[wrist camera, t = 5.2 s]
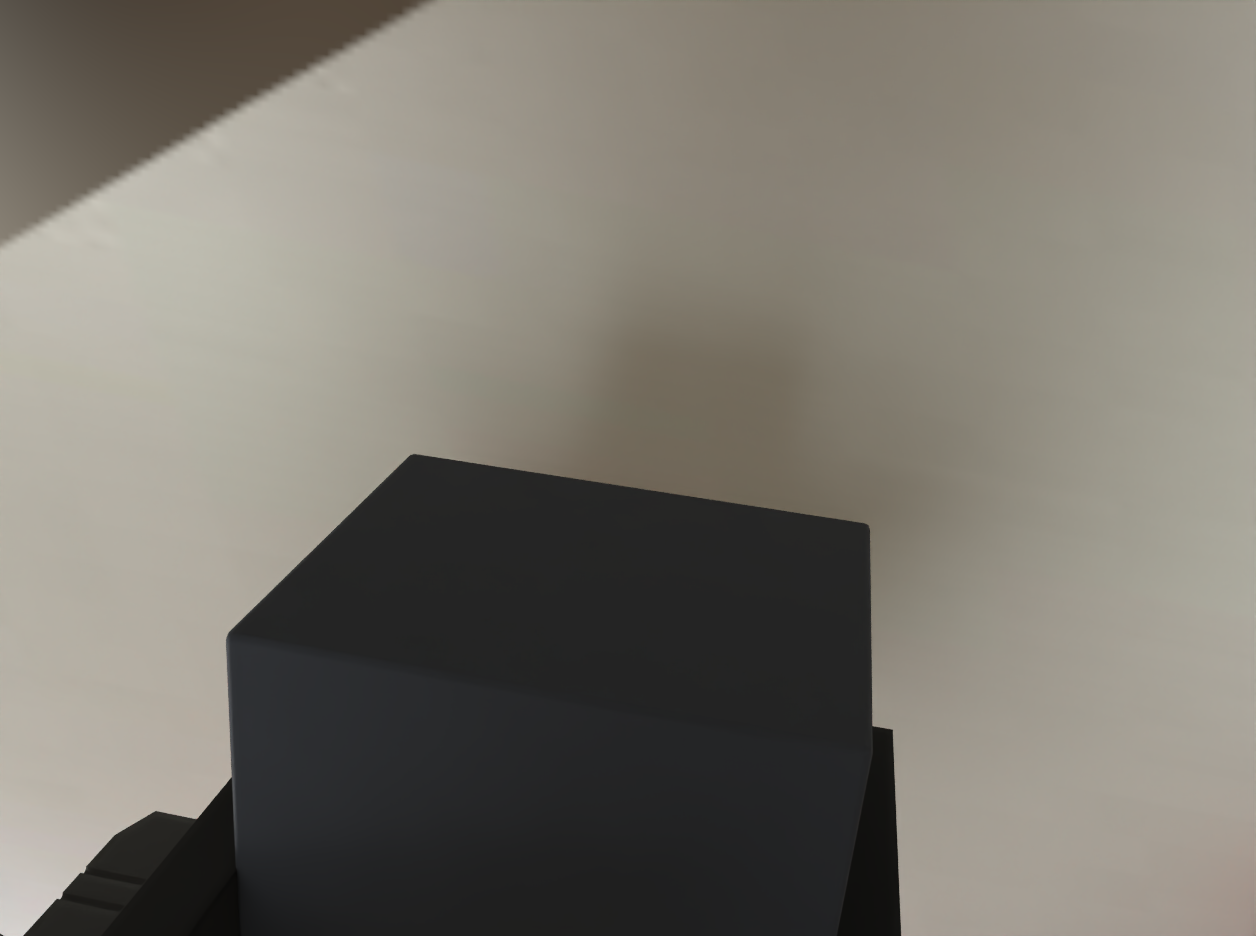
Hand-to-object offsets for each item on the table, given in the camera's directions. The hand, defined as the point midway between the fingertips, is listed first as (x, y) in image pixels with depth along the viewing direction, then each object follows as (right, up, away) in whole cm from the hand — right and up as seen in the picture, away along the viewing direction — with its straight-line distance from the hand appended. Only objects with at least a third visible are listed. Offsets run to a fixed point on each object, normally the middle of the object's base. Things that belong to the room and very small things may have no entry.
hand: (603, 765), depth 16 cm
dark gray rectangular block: (0, 0, 0) cm, 0 cm away
